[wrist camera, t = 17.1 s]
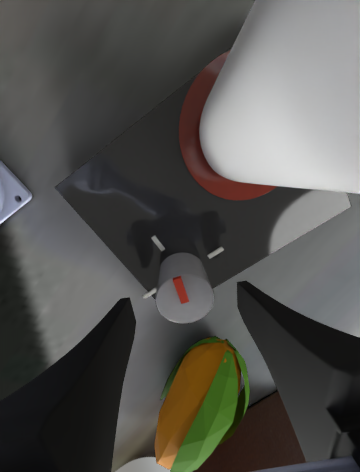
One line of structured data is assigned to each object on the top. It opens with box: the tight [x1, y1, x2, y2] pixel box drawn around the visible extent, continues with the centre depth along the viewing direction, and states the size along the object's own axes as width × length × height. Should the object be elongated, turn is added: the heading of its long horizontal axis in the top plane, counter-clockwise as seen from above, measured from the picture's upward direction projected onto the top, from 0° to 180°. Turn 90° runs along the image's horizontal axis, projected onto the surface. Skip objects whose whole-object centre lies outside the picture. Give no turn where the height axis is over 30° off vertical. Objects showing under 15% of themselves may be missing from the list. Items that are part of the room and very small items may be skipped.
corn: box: [154, 336, 250, 472], centre depth 20 cm, size 7×8×20 cm
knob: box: [155, 253, 214, 323], centre depth 13 cm, size 4×4×4 cm
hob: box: [55, 46, 351, 299], centre depth 15 cm, size 19×15×3 cm
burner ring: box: [179, 50, 277, 200], centre depth 12 cm, size 9×9×1 cm
